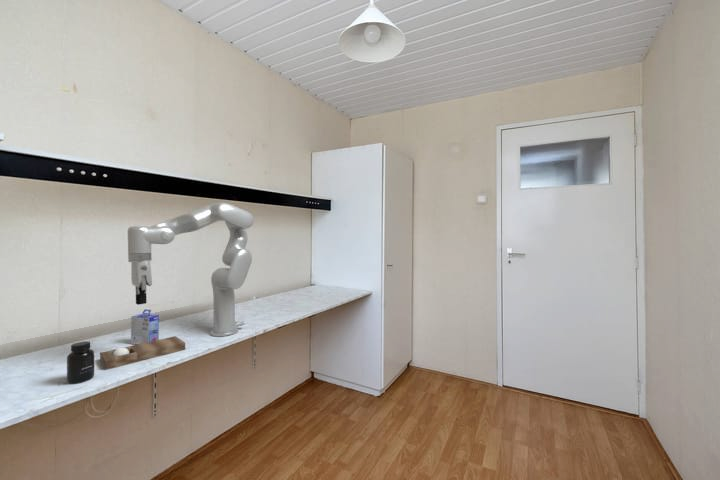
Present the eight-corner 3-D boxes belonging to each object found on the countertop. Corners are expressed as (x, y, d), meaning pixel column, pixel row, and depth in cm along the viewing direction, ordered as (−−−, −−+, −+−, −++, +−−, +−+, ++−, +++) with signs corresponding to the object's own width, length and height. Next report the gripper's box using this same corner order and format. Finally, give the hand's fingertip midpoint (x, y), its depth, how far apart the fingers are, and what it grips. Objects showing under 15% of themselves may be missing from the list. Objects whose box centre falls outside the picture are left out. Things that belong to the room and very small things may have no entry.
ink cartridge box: (159, 341, 140) (159, 309, 140) (149, 345, 135) (148, 312, 135) (141, 340, 142) (141, 308, 142) (130, 344, 137) (129, 311, 137)
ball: (126, 359, 122) (129, 346, 123) (128, 362, 118) (131, 348, 119) (110, 360, 118) (113, 346, 119) (112, 363, 115) (115, 349, 116)
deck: (175, 342, 139) (175, 336, 138) (185, 349, 130) (185, 342, 130) (100, 360, 119) (99, 352, 119) (106, 369, 111) (106, 361, 111)
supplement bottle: (87, 382, 102) (87, 346, 101) (62, 385, 100) (61, 348, 99) (98, 373, 108) (98, 339, 108) (74, 376, 106) (74, 341, 106)
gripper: (156, 258, 121) (157, 305, 122) (146, 256, 131) (147, 299, 132) (133, 259, 115) (134, 308, 116) (124, 257, 125) (125, 302, 126)
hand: (141, 303), depth 124 cm, fingers closed
